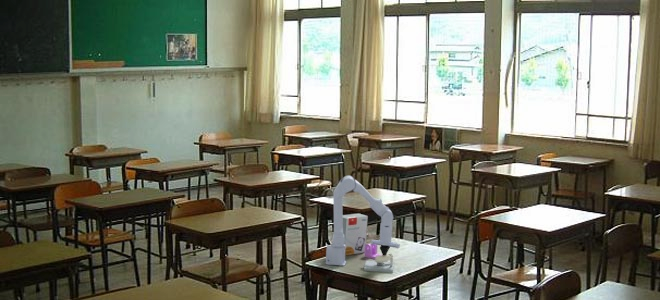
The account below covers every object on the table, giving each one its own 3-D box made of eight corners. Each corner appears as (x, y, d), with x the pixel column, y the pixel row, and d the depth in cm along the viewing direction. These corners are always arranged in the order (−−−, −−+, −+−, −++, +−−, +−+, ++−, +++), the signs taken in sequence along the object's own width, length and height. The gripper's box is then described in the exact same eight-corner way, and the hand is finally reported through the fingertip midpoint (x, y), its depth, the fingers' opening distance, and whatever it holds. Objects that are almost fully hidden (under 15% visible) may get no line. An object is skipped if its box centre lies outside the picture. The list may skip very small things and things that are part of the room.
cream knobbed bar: (379, 263, 397) (379, 257, 396) (373, 261, 400) (374, 256, 399) (393, 260, 403) (394, 255, 403) (388, 258, 406) (388, 253, 406)
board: (363, 270, 394) (364, 259, 393) (366, 262, 408) (366, 252, 407) (392, 272, 392) (393, 261, 391) (394, 265, 406) (394, 254, 405)
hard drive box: (343, 256, 419) (345, 218, 416) (334, 253, 425) (335, 215, 422) (366, 252, 428) (368, 215, 426) (356, 249, 434) (358, 212, 432)
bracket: (364, 256, 420) (365, 243, 419) (371, 254, 424) (371, 241, 423) (383, 261, 412) (384, 248, 411) (390, 260, 416) (391, 246, 415)
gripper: (369, 233, 402) (367, 259, 404) (396, 237, 396) (395, 264, 398) (374, 230, 408) (373, 256, 410) (401, 234, 403) (400, 261, 404)
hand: (384, 260), depth 404 cm, fingers closed, pressing on cream knobbed bar
